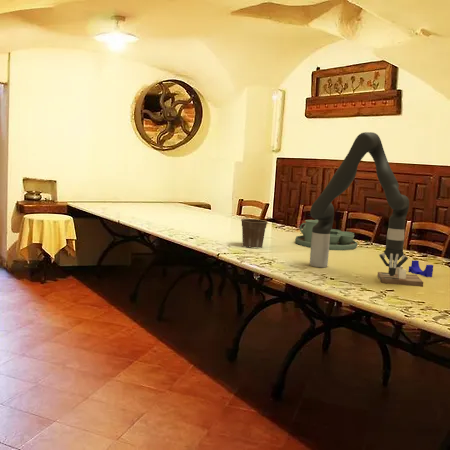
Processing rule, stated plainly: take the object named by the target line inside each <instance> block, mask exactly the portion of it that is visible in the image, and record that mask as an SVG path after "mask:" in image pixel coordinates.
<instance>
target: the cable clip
mask: <svg viewBox="0 0 450 450" xmlns="http://www.w3.org/2000/svg"><path fill="white" fill-rule="evenodd" d="M410 265H411V266H408V270H407V271H408V272H409V273H411V274H413V275H418V276H419V275H420V276H423V277H425V278H432V277H433V272H434V265H433V264H426V266H425V268H424V270H422V269H421V267H420V262H419V260H411V264H410Z"/></svg>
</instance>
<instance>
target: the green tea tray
mask: <svg viewBox="0 0 450 450" xmlns="http://www.w3.org/2000/svg"><path fill="white" fill-rule="evenodd" d="M318 221H319V220H317V219H305V222H302V223H301V224H300V226H299V231H300V233H301V234H302V235H297V236H296V237H295V238H294V239H295V240H294V241H295V244H297V245H300V246H301V245H302V247H305V246H306V248H310V247H311V239H312V228H313V226H315V225H316V224H317V223H318ZM354 237H355V232H351V231H342V230H341V229H334V228H332V229H331V231H330V243H329V251H349V250H355V249H356V248H357V247H358V242H357V241H355V240H354Z"/></svg>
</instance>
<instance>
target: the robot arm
mask: <svg viewBox="0 0 450 450" xmlns="http://www.w3.org/2000/svg"><path fill="white" fill-rule="evenodd" d="M366 154H369V155H370V157H371V158H372V159H373V162H374V164H375V172H376V177H377V180H378V182H379V183H380V185H381V187H382V190H383V191H384V195H385V198H386V201H387V202H386V203H387V204H388V206H389V207H390V208H391V209H392V213H391V215H390V217H389V218H388V229H387V232H386V242H385V248H384V250H383V252H382V253H380V254H378V255H379V258H380V259H381V261H382V262H383V263H384V265H385V267H388V272H387V273H389V274H390V276H394V275H395V271H396V268H397V267H400V266H403V264H405V262H407V261H408V260H409V257H408V256H406V255H405V253H404V241H405V227H406V219H407V216H408V212H409V208H410V199H409V197H408V196H406V194H402V193H401V192H400V190H399V187H400V184H399V182H398V179H397V177H396V176H395V173H394V172H393V170H392V168H391V166H390V164H389V161H388V157H387V155H386V152H385V150H384V147H383V143H382V139H381V138H380V136H379V135H378V134H377V133H375V132H367V131H366V132H361V133H359V134H358V135H357V136H356V137H355V139H354V141H353V143H352V145H351V147H350V149H349V151H348V152H347V154H346V156H345V157H344V159H343V160H342V162H341V163H340V164H339V166H338V168H337V169H336V171H335V173H334V174H333V176H332V178H331V179H330V181H329V182H328V184H327V185H325V188H324V189H323V190H322V192H321V193H320V195H319V196H318V197H317V198H316V200H315V201H314V202H313V203H312V205H311V207H310V209H309V210H310V212H309V214H310V216H311V218H312V219H313V220H315V219H317V220H319V221H318V223H317V224H316V225H315V226H313V228H312V239H311V248H310V254H309V255H310V256H309V266H311V267H314V268H328V266H329V263H328V262H329V256H330V255H329V254H330V253H329V252H330V250H329V243H330V231H331V229H333V226H334V219H335V207H334V205H333V203H332V202H333V201H334V200H335V199H336V198H337V197H339V196H341V195H342V194H343V193H345V191H346V190H348V188H349V187H350V186H351V184H352V183H353V182H354V180H355V178H356V176H357V171H358V167H359V165H360V162H361V161H362V160H363V158H364V157H365V155H366ZM385 258H387V260H388V262H387V260H386V259H385ZM400 259H401V260H400Z"/></svg>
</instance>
